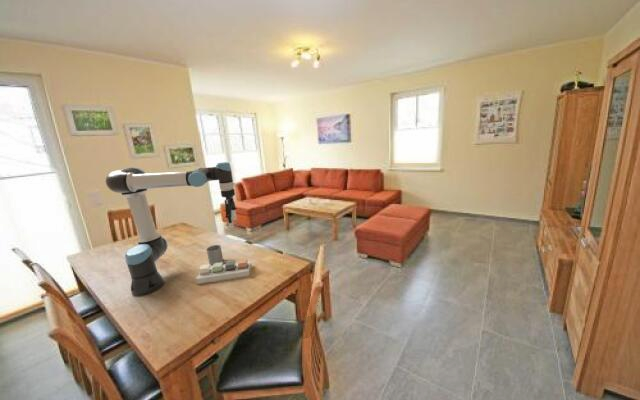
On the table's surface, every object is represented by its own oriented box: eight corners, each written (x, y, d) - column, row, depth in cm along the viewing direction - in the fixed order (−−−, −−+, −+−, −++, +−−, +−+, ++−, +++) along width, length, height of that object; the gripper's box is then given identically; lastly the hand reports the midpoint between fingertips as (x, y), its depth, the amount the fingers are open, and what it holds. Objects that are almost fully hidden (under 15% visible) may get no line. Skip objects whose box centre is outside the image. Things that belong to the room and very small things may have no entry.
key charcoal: (226, 272, 142) (225, 265, 141) (227, 267, 147) (226, 261, 146) (234, 270, 143) (233, 264, 142) (236, 266, 148) (235, 260, 147)
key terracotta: (238, 270, 143) (237, 263, 142) (239, 265, 148) (238, 259, 147) (247, 268, 144) (246, 262, 143) (248, 264, 149) (247, 258, 148)
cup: (218, 265, 156) (215, 251, 154) (206, 265, 158) (203, 250, 155) (225, 259, 164) (223, 245, 161) (214, 258, 166) (211, 244, 163)
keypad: (197, 284, 137) (196, 278, 136) (203, 273, 149) (202, 267, 148) (249, 276, 142) (248, 270, 141) (251, 265, 153) (250, 260, 152)
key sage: (213, 273, 141) (212, 267, 140) (215, 269, 146) (213, 263, 145) (222, 272, 142) (220, 266, 141) (223, 268, 147) (222, 262, 145)
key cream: (200, 275, 140) (198, 269, 139) (202, 271, 145) (201, 265, 144) (209, 274, 141) (207, 268, 140) (211, 270, 145) (210, 263, 144)
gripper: (230, 193, 133) (236, 230, 139) (236, 184, 157) (241, 216, 163) (216, 195, 132) (222, 232, 138) (224, 185, 156) (229, 218, 161)
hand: (233, 223), depth 150 cm, fingers open, 13 cm apart
